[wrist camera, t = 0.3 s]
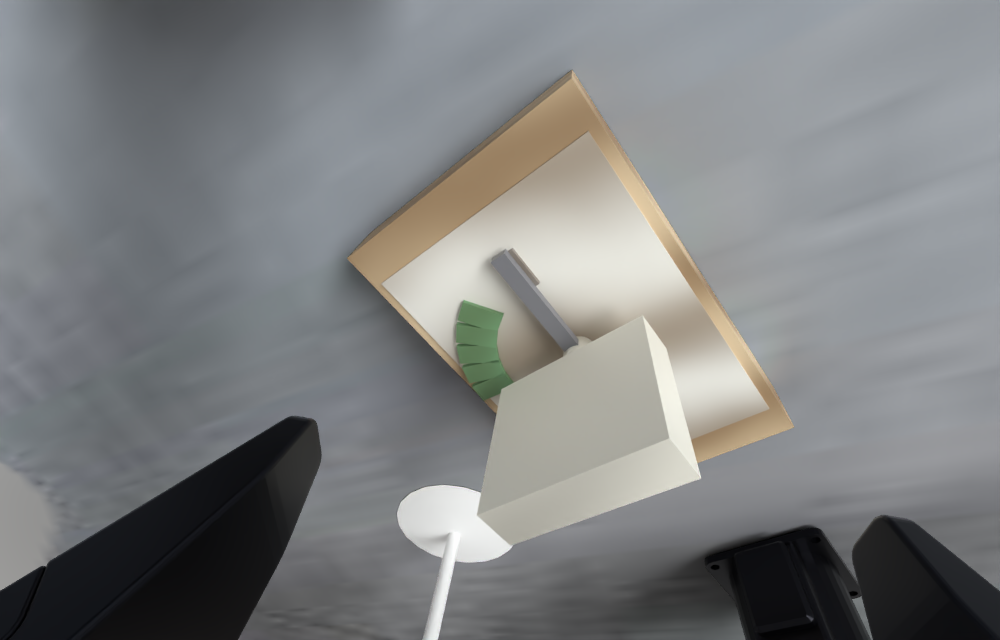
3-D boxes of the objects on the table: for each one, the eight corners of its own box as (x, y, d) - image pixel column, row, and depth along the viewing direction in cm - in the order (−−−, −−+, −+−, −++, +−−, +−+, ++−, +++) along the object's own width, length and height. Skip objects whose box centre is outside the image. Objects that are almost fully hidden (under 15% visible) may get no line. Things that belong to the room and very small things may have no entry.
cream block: (660, 327, 18) (701, 478, 12) (529, 394, 20) (510, 545, 15) (571, 201, 16) (569, 311, 10) (437, 293, 18) (374, 422, 13)
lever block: (773, 387, 22) (797, 432, 20) (583, 465, 26) (583, 510, 24) (572, 69, 16) (571, 79, 14) (370, 233, 20) (343, 261, 18)
